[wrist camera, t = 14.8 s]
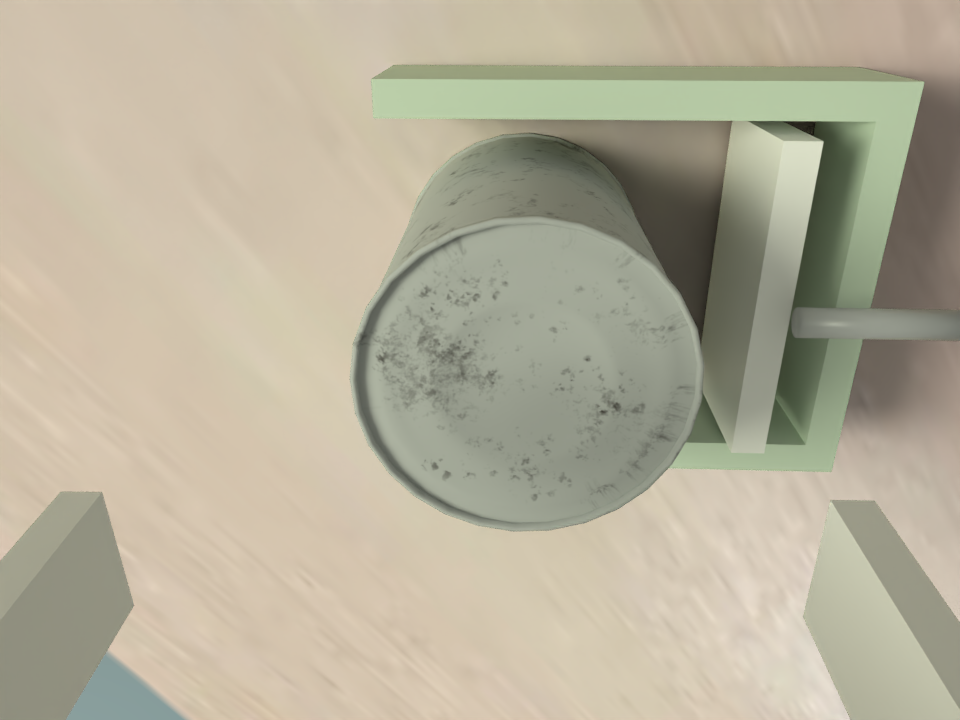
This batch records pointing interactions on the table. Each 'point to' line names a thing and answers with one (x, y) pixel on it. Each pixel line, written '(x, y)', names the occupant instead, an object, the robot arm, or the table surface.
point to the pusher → (775, 282)
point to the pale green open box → (733, 97)
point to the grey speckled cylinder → (526, 343)
